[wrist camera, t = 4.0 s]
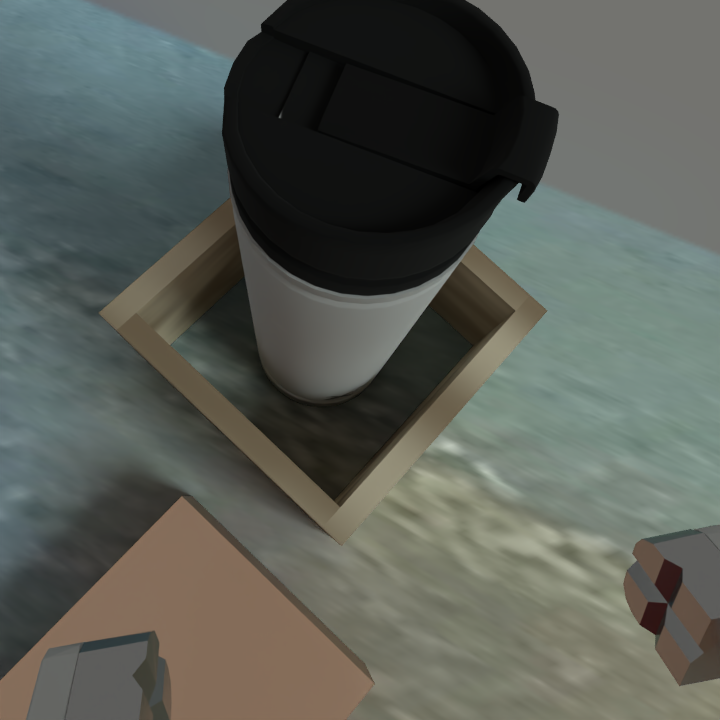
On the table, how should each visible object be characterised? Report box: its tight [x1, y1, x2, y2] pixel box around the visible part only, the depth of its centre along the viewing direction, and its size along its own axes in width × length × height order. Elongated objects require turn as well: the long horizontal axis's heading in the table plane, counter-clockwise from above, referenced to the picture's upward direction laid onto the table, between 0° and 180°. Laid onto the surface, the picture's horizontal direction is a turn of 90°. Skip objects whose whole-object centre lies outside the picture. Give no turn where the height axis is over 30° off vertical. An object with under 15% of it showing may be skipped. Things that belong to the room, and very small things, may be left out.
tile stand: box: [0, 496, 375, 720], centre depth 25 cm, size 11×11×3 cm
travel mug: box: [222, 0, 559, 407], centre depth 21 cm, size 6×7×20 cm
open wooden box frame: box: [99, 197, 547, 546], centre depth 28 cm, size 13×13×6 cm
